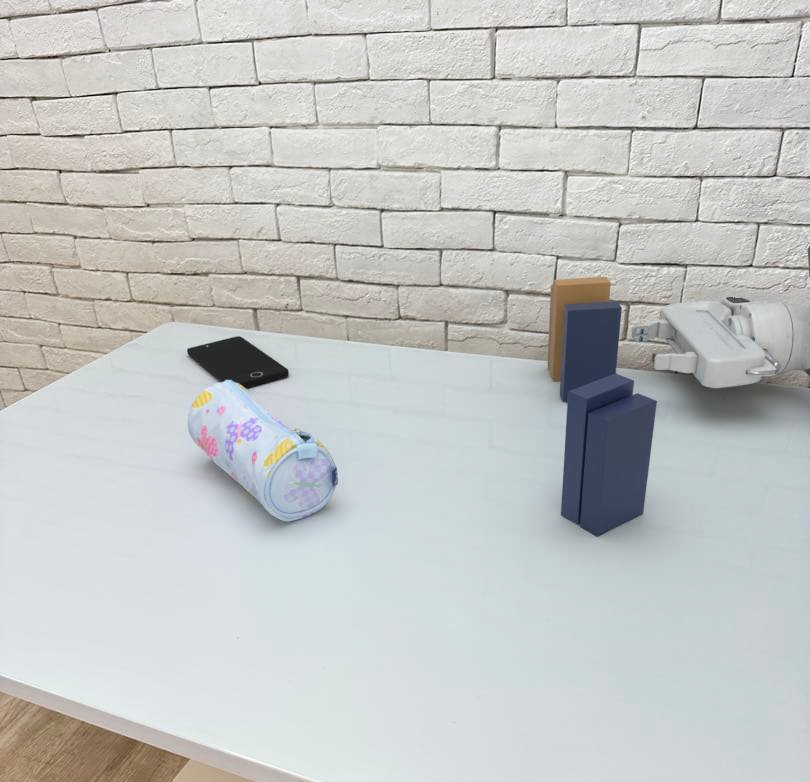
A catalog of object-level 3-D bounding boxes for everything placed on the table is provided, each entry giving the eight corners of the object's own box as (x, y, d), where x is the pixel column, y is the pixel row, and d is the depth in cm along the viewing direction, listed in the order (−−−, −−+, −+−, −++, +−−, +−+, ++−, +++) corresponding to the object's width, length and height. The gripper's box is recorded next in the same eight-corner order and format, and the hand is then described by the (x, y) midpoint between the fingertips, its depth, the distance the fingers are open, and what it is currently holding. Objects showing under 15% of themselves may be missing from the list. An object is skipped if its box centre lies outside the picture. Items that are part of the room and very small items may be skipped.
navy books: (605, 493, 90) (616, 372, 82) (643, 513, 86) (658, 388, 79) (559, 515, 87) (566, 391, 79) (597, 536, 83) (608, 409, 76)
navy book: (609, 391, 111) (617, 301, 105) (613, 399, 109) (621, 307, 103) (559, 394, 111) (564, 304, 105) (562, 402, 109) (568, 310, 103)
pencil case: (346, 509, 90) (337, 428, 85) (273, 538, 86) (259, 454, 81) (257, 440, 105) (245, 367, 99) (190, 462, 101) (174, 387, 95)
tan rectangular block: (595, 364, 119) (602, 271, 112) (602, 378, 115) (610, 282, 108) (546, 367, 119) (550, 274, 112) (552, 381, 115) (557, 285, 108)
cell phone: (232, 392, 117) (231, 385, 116) (186, 354, 130) (185, 348, 129) (290, 376, 121) (289, 369, 120) (240, 341, 134) (239, 335, 133)
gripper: (782, 397, 99) (663, 404, 99) (721, 336, 117) (620, 342, 117) (792, 345, 96) (670, 353, 96) (729, 290, 113) (625, 296, 113)
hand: (642, 346), depth 106 cm, fingers open, 8 cm apart
